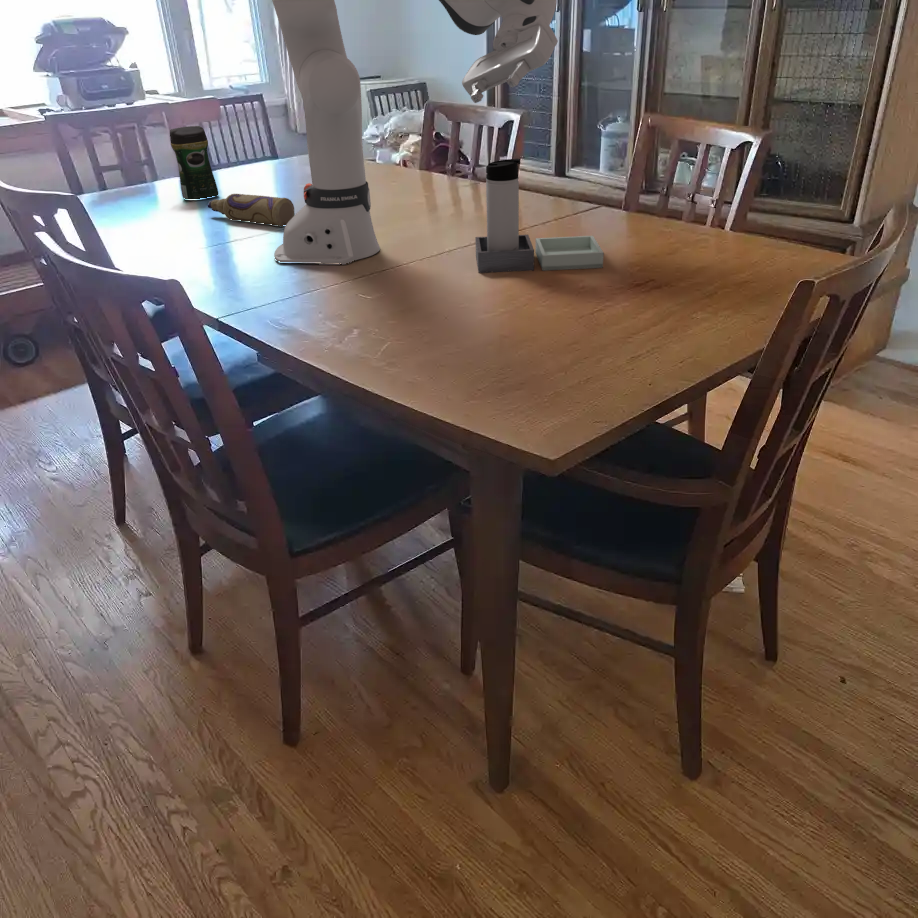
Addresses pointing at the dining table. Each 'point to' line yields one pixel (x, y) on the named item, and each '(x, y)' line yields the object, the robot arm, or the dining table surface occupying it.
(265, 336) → the dining table surface
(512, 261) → the collar
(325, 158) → the robot arm
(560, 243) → the tray
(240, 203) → the decorative bottle
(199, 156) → the coffee jar
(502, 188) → the travel mug
